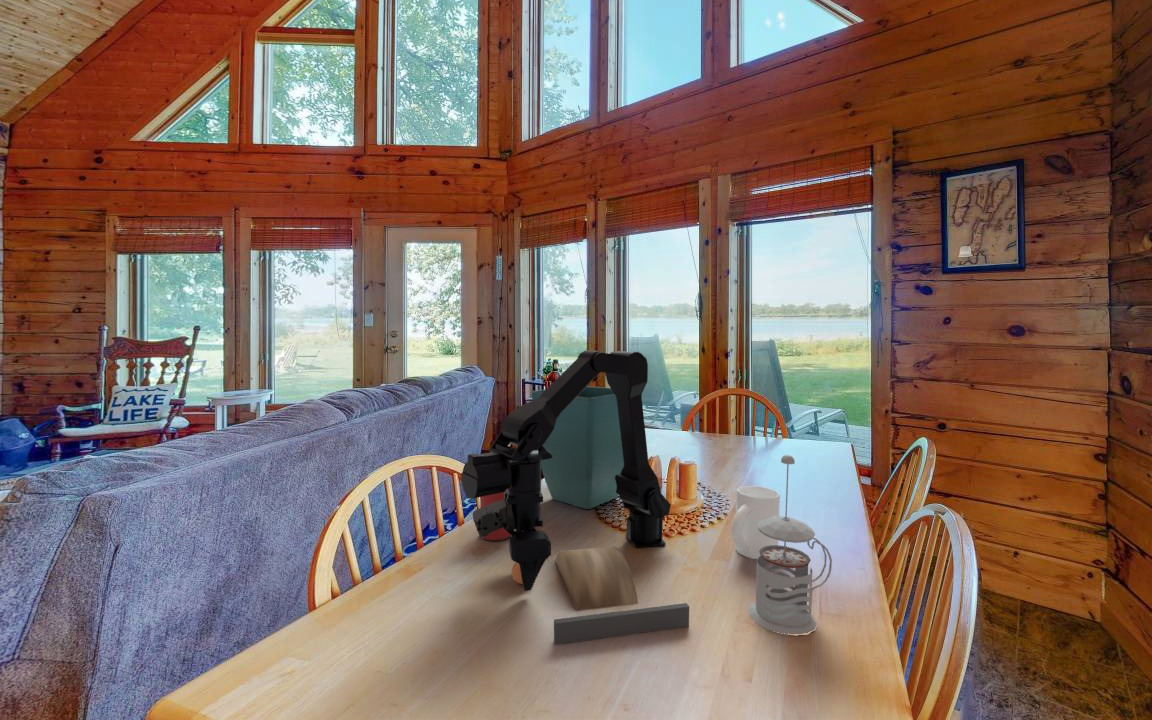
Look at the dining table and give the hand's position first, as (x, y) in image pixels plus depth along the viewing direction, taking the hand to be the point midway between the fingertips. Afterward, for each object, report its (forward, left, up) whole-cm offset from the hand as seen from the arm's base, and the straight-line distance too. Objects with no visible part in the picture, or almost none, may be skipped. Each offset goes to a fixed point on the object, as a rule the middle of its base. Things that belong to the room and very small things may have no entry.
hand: (523, 576), depth 86 cm
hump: (-12, +1, -19) cm, 22 cm away
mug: (-45, -2, -1) cm, 45 cm away
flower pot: (-21, -40, -1) cm, 45 cm away
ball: (0, 0, +1) cm, 1 cm away
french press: (-38, +19, -1) cm, 43 cm away
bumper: (-12, +18, -1) cm, 21 cm away
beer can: (+3, -21, -1) cm, 21 cm away
